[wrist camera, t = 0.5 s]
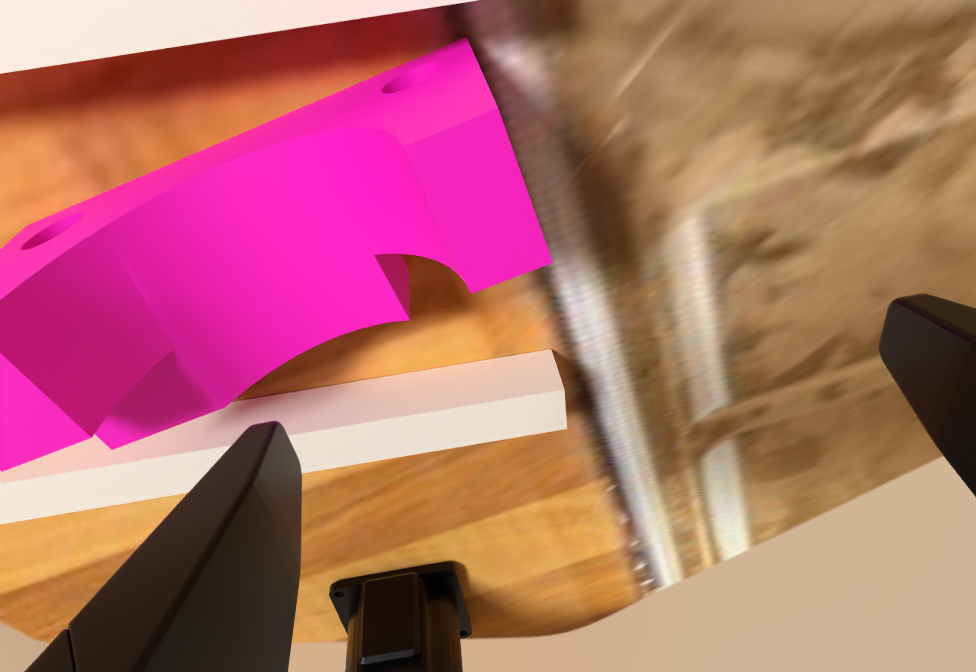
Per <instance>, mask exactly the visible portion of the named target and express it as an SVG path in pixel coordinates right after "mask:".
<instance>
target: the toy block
mask: <svg viewBox="0 0 976 672" xmlns="http://www.w3.org/2000/svg"><path fill="white" fill-rule="evenodd" d="M401 254H410V255H417V256H422V257H427V258H430V259H433V260H436V261H438V262H440V263H442V264H444V265H446V266H448V267H450V268H451V269H452V270H453V271H455V272H456V273H457V274H458V275H459V276H460V277H461V278H462V279H463V281H464V282H465V283H466V285H467V287H468V289H469V290H470V292H471V294H472V293H474V292H477V291H480V290H482V289H485V288H488V287H490V286H493V285H496V284H498V283H501V282H503V281H506V280H509V279H511V278H514V277H517V276H519V275H522V274H524V273H527V272H530V271H532V270H535V269H538V268H540V267H543V266H546V265H548V264H551V263H553V262H552V259H551V256H550V253H549V250H548V247H547V245H546V242H545V239H544V236H543V233H542V231H541V228H540V225H539V222H538V219H537V216H536V214H535V211H534V208H533V205H532V202H531V199H530V197H529V194H528V191H527V188H526V185H525V183H524V180H523V177H522V174H521V171H520V168H519V166H518V163H517V160H516V157H515V154H514V152H513V149H512V146H511V143H510V140H509V137H508V135H507V132H506V129H505V126H504V123H503V120H502V118H501V115H500V112H499V109H498V107H497V104H496V102H495V100H494V98H493V95H492V93H491V91H490V89H489V87H488V84H487V82H486V80H485V78H484V75H483V73H482V71H481V69H480V66H479V64H478V62H477V60H476V57H475V55H474V53H473V51H472V48H471V46H470V44H469V42H468V39H467V37H465V38H463V39H460V40H458V41H456V42H453V43H451V44H449V45H446V46H444V47H442V48H439V49H437V50H435V51H432V52H430V53H428V54H425V55H423V56H421V57H418V58H416V59H414V60H411V61H409V62H407V63H404V64H402V65H400V66H397V67H395V68H393V69H390V70H388V71H386V72H383V73H381V74H379V75H376V76H374V77H372V78H370V79H367V80H365V81H363V82H360V83H358V84H356V85H353V86H351V87H349V88H346V89H344V90H342V91H339V92H337V93H335V94H332V95H330V96H328V97H325V98H323V99H321V100H318V101H316V102H314V103H311V104H309V105H307V106H304V107H302V108H300V109H297V110H295V111H293V112H290V113H288V114H286V115H283V116H281V117H279V118H276V119H274V120H272V121H269V122H267V123H265V124H262V125H260V126H258V127H255V128H253V129H251V130H249V131H246V132H244V133H242V134H239V135H237V136H235V137H232V138H230V139H228V140H225V141H223V142H221V143H218V144H216V145H214V146H211V147H209V148H207V149H204V150H202V151H200V152H197V153H195V154H193V155H190V156H188V157H186V158H183V159H181V160H179V161H176V162H174V163H172V164H169V165H167V166H165V167H162V168H160V169H158V170H155V171H153V172H151V173H148V174H146V175H144V176H141V177H139V178H137V179H134V180H132V181H130V182H128V183H125V184H123V185H121V186H118V187H116V188H114V189H111V190H109V191H107V192H104V193H102V194H100V195H97V196H95V197H93V198H90V199H88V200H86V201H83V202H81V203H79V204H76V205H74V206H72V207H69V208H67V209H65V210H62V211H60V212H58V213H55V214H53V215H51V216H48V217H46V218H44V219H41V220H39V221H37V222H34V223H32V224H30V225H27V226H26V227H25V228H24V229H23V230H21V231H20V232H19V233H18V234H17V235H16V236H15V237H14V238H13V239H12V240H10V241H9V242H8V243H7V244H6V245H5V246H4V247H3V248H2V249H1V250H0V471H2V472H3V471H6V470H8V469H11V468H14V467H16V466H19V465H22V464H24V463H27V462H29V461H32V460H35V459H37V458H40V457H43V456H45V455H48V454H51V453H53V452H56V451H58V450H61V449H64V448H66V447H69V446H72V445H74V444H77V443H79V442H82V441H85V440H87V439H90V438H92V437H93V435H94V434H95V435H96V436H97V437H98V438H99V439H100V440H101V441H103V442H104V443H105V444H106V445H107V446H108V447H109V448H110V449H111V450H114V449H116V448H119V447H122V446H124V445H127V444H130V443H132V442H135V441H138V440H140V439H143V438H146V437H148V436H151V435H154V434H156V433H159V432H162V431H164V430H167V429H170V428H172V427H175V426H177V425H180V424H183V423H185V422H188V421H191V420H193V419H196V418H199V417H201V416H204V415H207V414H209V413H212V412H215V411H217V410H220V409H223V408H225V407H226V406H228V405H229V404H230V403H231V402H232V401H233V400H234V399H235V398H237V397H238V396H239V395H240V394H241V393H243V392H244V391H245V390H246V389H248V388H249V387H250V386H251V385H253V384H254V383H255V382H257V381H258V380H260V379H261V378H262V377H264V376H265V375H267V374H268V373H269V372H271V371H273V370H274V369H276V368H277V367H279V366H280V365H282V364H283V363H285V362H287V361H289V360H290V359H292V358H294V357H295V356H297V355H299V354H301V353H303V352H305V351H307V350H309V349H311V348H313V347H315V346H317V345H319V344H321V343H323V342H326V341H328V340H330V339H333V338H335V337H338V336H341V335H343V334H346V333H349V332H352V331H355V330H358V329H361V328H365V327H369V326H373V325H378V324H383V323H389V322H396V321H406V320H410V310H409V268H408V266H407V264H406V262H405V260H404V258H403V257H402V255H401Z"/></svg>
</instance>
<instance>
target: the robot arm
mask: <svg viewBox="0 0 976 672" xmlns="http://www.w3.org/2000/svg"><path fill="white" fill-rule="evenodd" d="M879 351H880V356H881V358H882V360H883V362H884V364H885V366H886V367H887V369H888V370H889V372H890V374H891V375H892V377H893V378H894V380H895V382H896V383H897V385H898V386H899V388H900V390H901V391H902V393H903V394H904V396H905V398H906V399H907V401H908V403H909V404H910V406H911V407H912V409H913V411H914V412H915V414H916V415H917V417H918V419H919V420H920V422H921V423H922V425H923V427H924V428H925V430H926V431H927V433H928V434H929V436H930V437H931V439H932V440H933V442H934V443H935V445H936V446H937V447H938V449H939V450H940V452H941V453H942V454H943V456H944V457H945V458H946V460H947V461H948V462H949V463H950V465H951V466H952V467H953V468H954V469H955V471H956V472H957V474H958V475H959V476H960V477H961V479H962V480H963V481H964V482H965V484H966V485H967V486H968V488H969V489H970V490H971V491H972V493H973V494H974V495H975V497H976V308H972V307H969V306H966V305H962V304H959V303H955V302H952V301H949V300H945V299H942V298H939V297H935V296H932V295H928V294H915V295H910V296H905V297H900V298H897V299H895V300H893V301H892V302H891V304H890V305H889V307H888V310H887V314H886V318H885V322H884V326H883V330H882V334H881V338H880V342H879ZM301 502H302V472H301V465H300V461H299V458H298V456H297V454H296V452H295V450H294V448H293V446H292V444H291V441H290V439H289V437H288V435H287V433H286V431H285V429H284V427H283V425H282V424H281V423H280V422H278V421H269V422H264V423H259V424H254V425H251V426H249V427H248V428H247V429H246V430H245V431H244V432H243V433H242V434H241V436H240V437H239V438H238V439H237V440H236V441H235V442H234V443H233V444H232V445H231V446H230V448H229V449H228V450H227V451H226V452H225V453H224V454H223V455H222V456H221V457H220V459H219V460H218V461H217V462H216V463H215V464H214V465H213V466H212V467H211V468H210V470H209V471H208V472H207V473H206V474H205V475H204V476H203V477H202V478H201V479H200V480H199V482H198V483H197V484H196V485H195V486H194V487H193V488H192V489H191V490H190V491H189V493H188V494H187V495H186V496H185V497H184V498H183V499H182V500H181V501H180V502H179V503H178V505H177V506H176V507H175V508H174V509H173V510H172V511H171V512H170V513H169V514H168V516H167V517H166V518H165V519H164V520H163V521H162V522H161V523H160V524H159V525H158V526H157V528H156V529H155V530H154V531H153V532H152V533H151V534H150V535H149V536H148V537H147V539H146V540H145V541H144V542H143V543H142V544H141V545H140V546H139V547H138V548H137V549H136V551H135V552H134V553H133V554H132V555H131V556H130V557H129V558H128V559H127V560H126V562H125V563H124V564H123V565H122V566H121V567H120V568H119V569H118V570H117V571H116V573H115V574H114V575H113V576H112V577H111V578H110V579H109V580H108V581H107V582H106V583H105V585H104V586H103V587H102V588H101V589H100V590H99V591H98V592H97V593H96V594H95V596H94V597H93V598H92V599H91V600H90V601H89V602H88V603H87V604H86V605H85V606H84V608H83V609H82V610H81V611H80V612H79V613H78V614H77V615H76V616H75V617H74V618H73V620H72V621H71V622H70V623H69V625H68V629H64V630H62V631H61V632H60V634H59V635H58V636H57V637H56V638H55V639H54V640H53V641H52V642H51V643H50V645H49V646H48V647H47V648H46V649H45V650H44V651H43V652H42V653H41V654H40V656H39V657H38V658H37V659H36V660H35V661H34V662H33V663H32V664H31V665H30V666H29V667H28V668H27V669H26V670H25V671H24V672H288V666H289V658H290V650H291V643H292V635H293V627H294V619H295V612H296V604H297V596H298V588H299V579H300V569H301ZM329 596H330V598H331V600H332V603H333V605H334V607H335V609H336V611H337V613H338V615H339V617H340V620H341V622H342V624H343V626H344V628H345V630H346V632H347V634H348V642H347V657H346V670H345V672H463V670H462V657H461V645H460V639H462V638H466V637H468V636H470V635H471V634H472V630H471V623H470V619H469V615H468V611H467V607H466V603H465V599H464V595H463V591H462V587H461V583H460V579H459V575H458V571H457V567H456V566H455V565H454V564H452V563H443V564H437V565H431V566H426V567H420V568H414V569H408V570H402V571H397V572H391V573H385V574H379V575H373V576H368V577H362V578H356V579H350V580H344V581H339V582H335V583H333V584H331V586H330V591H329Z"/></svg>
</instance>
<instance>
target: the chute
mask: <svg viewBox="0 0 976 672" xmlns="http://www.w3.org/2000/svg"><path fill="white" fill-rule="evenodd" d="M471 1H477V0H0V74H1V73H8V72H14V71H21V70H27V69H34V68H40V67H47V66H53V65H60V64H66V63H73V62H79V61H86V60H93V59H99V58H106V57H112V56H119V55H125V54H132V53H138V52H145V51H151V50H158V49H164V48H171V47H177V46H184V45H190V44H197V43H203V42H210V41H216V40H223V39H229V38H236V37H242V36H249V35H255V34H262V33H269V32H275V31H282V30H288V29H295V28H301V27H308V26H314V25H321V24H327V23H334V22H340V21H347V20H353V19H360V18H366V17H373V16H379V15H386V14H392V13H399V12H405V11H412V10H418V9H425V8H431V7H438V6H445V5H451V4H458V3H464V2H471ZM269 421H278V422H280V423H281V424H282V425H283V427H284V429H285V431H286V433H287V435H288V437H289V439H290V441H291V444H292V446H293V448H294V450H295V452H296V454H297V456H298V458H299V461H300V465H301V472H302V473H307V472H313V471H319V470H325V469H331V468H337V467H343V466H349V465H355V464H361V463H367V462H373V461H379V460H385V459H391V458H396V457H402V456H408V455H414V454H420V453H426V452H432V451H438V450H444V449H450V448H456V447H462V446H468V445H474V444H480V443H485V442H491V441H497V440H503V439H509V438H515V437H521V436H527V435H533V434H539V433H545V432H551V431H557V430H563V429H567V421H566V406H565V390H564V387H563V384H562V380H561V377H560V374H559V371H558V368H557V365H556V362H555V359H554V356H553V353H552V350H551V349H549V350H543V351H537V352H531V353H525V354H519V355H513V356H507V357H501V358H495V359H489V360H483V361H477V362H470V363H464V364H458V365H452V366H446V367H440V368H434V369H428V370H422V371H416V372H410V373H404V374H398V375H392V376H386V377H380V378H374V379H368V380H362V381H356V382H350V383H344V384H338V385H332V386H326V387H320V388H314V389H308V390H302V391H295V392H289V393H283V394H277V395H271V396H265V397H259V398H253V399H247V400H241V401H235V402H231V403H230V404H229V405H228V406H226V407H225V408H223V409H220V410H217V411H215V412H212V413H209V414H207V415H204V416H201V417H199V418H196V419H193V420H191V421H188V422H185V423H183V424H180V425H177V426H175V427H172V428H170V429H167V430H164V431H162V432H159V433H156V434H154V435H151V436H148V437H146V438H143V439H140V440H138V441H135V442H132V443H130V444H127V445H124V446H122V447H119V448H116V449H114V450H111V449H110V448H109V447H108V446H107V445H106V444H105V443H104V442H103V441H101V440H100V439H99V438H98V437H97V436H96V435H95V434H94V435H93V437H92V438H90V439H87V440H85V441H82V442H79V443H77V444H74V445H72V446H69V447H66V448H64V449H61V450H58V451H56V452H53V453H51V454H48V455H45V456H43V457H40V458H37V459H35V460H32V461H29V462H27V463H24V464H22V465H19V466H16V467H14V468H11V469H8V470H6V471H3V472H2V471H0V524H5V523H11V522H17V521H23V520H29V519H35V518H40V517H46V516H52V515H58V514H64V513H70V512H76V511H82V510H88V509H94V508H100V507H106V506H112V505H118V504H124V503H129V502H135V501H141V500H147V499H153V498H159V497H165V496H171V495H177V494H183V493H189V491H190V490H191V489H192V488H193V487H194V486H195V485H196V484H197V483H198V482H199V480H200V479H201V478H202V477H203V476H204V475H205V474H206V473H207V472H208V471H209V470H210V468H211V467H212V466H213V465H214V464H215V463H216V462H217V461H218V460H219V459H220V457H221V456H222V455H223V454H224V453H225V452H226V451H227V450H228V449H229V448H230V446H231V445H232V444H233V443H234V442H235V441H236V440H237V439H238V438H239V437H240V436H241V434H242V433H243V432H244V431H245V430H246V429H247V428H248V427H249V426H251V425H254V424H259V423H264V422H269Z"/></svg>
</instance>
